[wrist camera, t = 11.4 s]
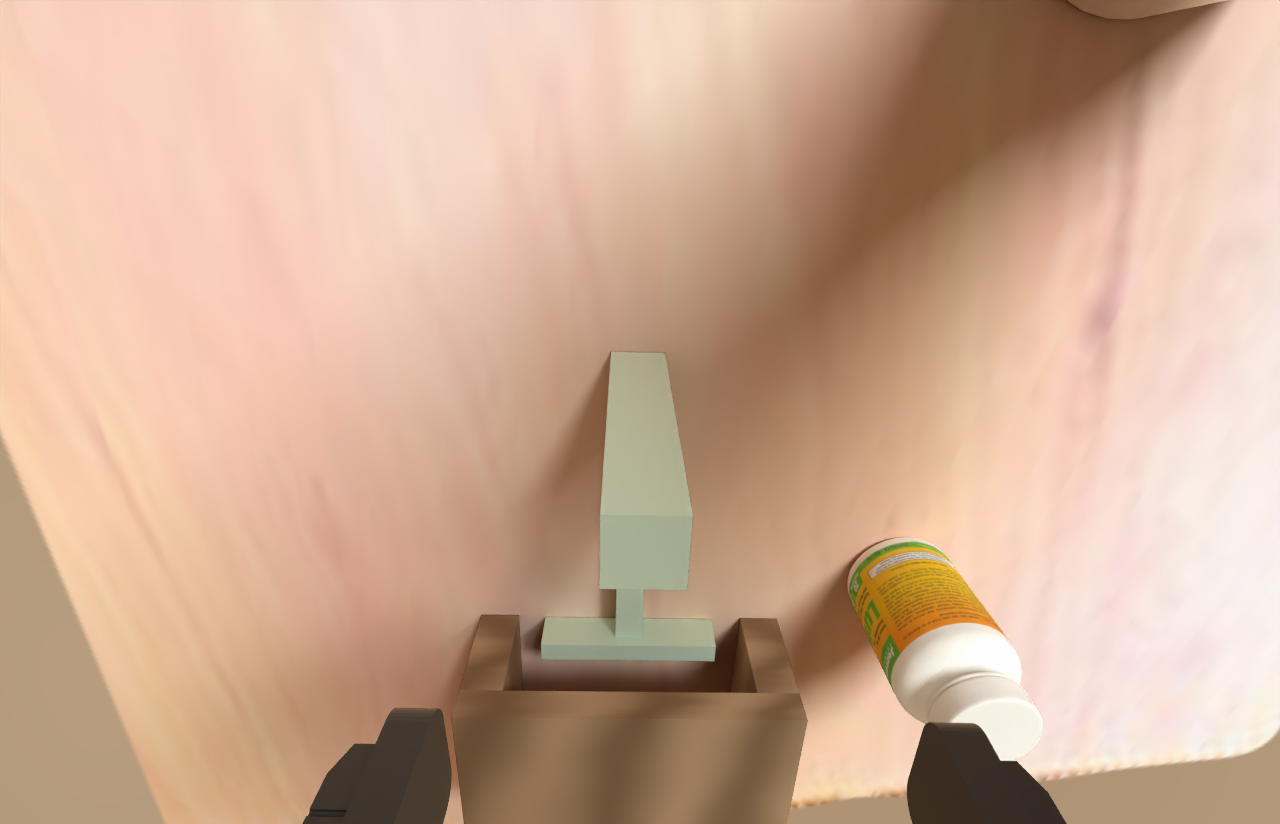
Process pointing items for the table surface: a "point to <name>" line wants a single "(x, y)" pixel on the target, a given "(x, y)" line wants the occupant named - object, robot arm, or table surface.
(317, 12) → the table surface
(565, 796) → the wooden arch
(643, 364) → the rake
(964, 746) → the robot arm
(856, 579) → the supplement bottle
